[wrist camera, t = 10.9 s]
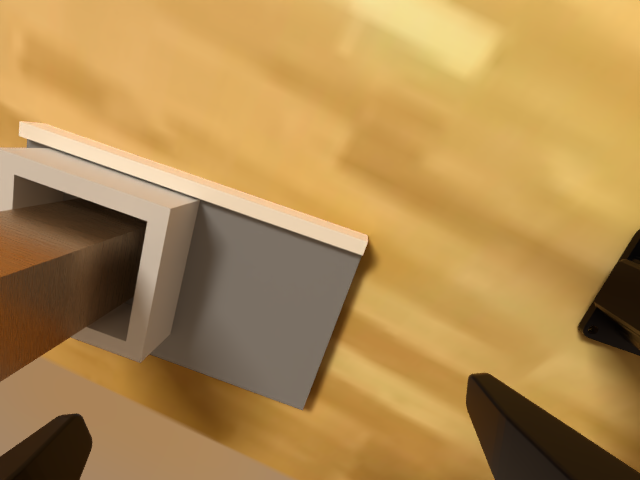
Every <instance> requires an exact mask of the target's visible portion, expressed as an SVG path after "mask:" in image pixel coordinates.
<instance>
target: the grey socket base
mask: <svg viewBox="0 0 640 480" xmlns="http://www.w3.org/2000/svg"><path fill="white" fill-rule="evenodd" d="M19 136H21V137H24V138H27V148H0V211H6V210H12V209H18V208H24V207H30V206H36V205H42V204H48V203H54V202H60V201H66V200H72V199H78V198H82V199H85V200H88V201H91V202H94V203H97V204H99V205H102V206H105V207H108V208H111V209H114V210H116V211H119V212H122V213H125V214H128V215H131V216H133V217H136V218H139V219H142V220H145V221H147V227H146V233H145V238H144V244H143V249H142V255H141V261H140V266H139V272H138V277H137V283H136V289H135V294H134V297H132V298H131V299H129V300H128V301H126V302H125V303H123V304H121V305H120V306H118V307H117V308H115V309H114V310H112V311H110V312H109V313H107V314H106V315H104V316H103V317H101V318H99V319H98V320H96V321H95V322H93V323H92V324H90V325H89V326H87V327H85V328H84V329H82V330H81V331H79V332H78V333H76V334H74V335H73V336H71V338H74V339H77V340H79V341H82V342H85V343H88V344H90V345H93V346H96V347H99V348H101V349H104V350H107V351H109V352H112V353H115V354H118V355H120V356H123V357H126V358H129V359H131V360H134V361H137V362H139V363H141V362H142V361H143V360H144V359H145V358H146V357H147V356H148V355H149V354H150V355H153V356H156V357H158V358H161V359H164V360H167V361H169V362H172V363H175V364H177V365H180V366H183V367H186V368H188V369H191V370H194V371H197V372H199V373H202V374H205V375H208V376H210V377H213V378H216V379H219V380H221V381H224V382H227V383H229V384H232V385H235V386H238V387H240V388H243V389H246V390H249V391H251V392H254V393H257V394H260V395H262V396H265V397H268V398H270V399H273V400H276V401H279V402H281V403H284V404H287V405H290V406H292V407H295V408H298V409H301V410H303V408H304V406H305V403H306V400H307V398H308V395H309V392H310V390H311V387H312V385H313V382H314V379H315V377H316V374H317V371H318V369H319V366H320V364H321V361H322V358H323V356H324V353H325V350H326V348H327V345H328V343H329V340H330V337H331V335H332V332H333V330H334V327H335V324H336V322H337V319H338V316H339V314H340V311H341V309H342V306H343V303H344V301H345V298H346V295H347V293H348V290H349V288H350V285H351V282H352V280H353V277H354V275H355V272H356V269H357V267H358V264H359V261H360V259H361V256H363V254H364V251H365V249H366V246H367V243H368V235H366V234H363V233H360V232H357V231H354V230H351V229H348V228H345V227H342V226H340V225H337V224H334V223H331V222H328V221H325V220H322V219H319V218H317V217H314V216H311V215H308V214H305V213H302V212H299V211H296V210H293V209H291V208H288V207H285V206H282V205H279V204H276V203H273V202H270V201H267V200H265V199H262V198H259V197H256V196H253V195H250V194H247V193H244V192H241V191H239V190H236V189H233V188H230V187H227V186H224V185H221V184H218V183H215V182H213V181H210V180H207V179H204V178H201V177H198V176H195V175H192V174H189V173H187V172H184V171H181V170H178V169H175V168H172V167H169V166H166V165H163V164H161V163H158V162H155V161H152V160H149V159H146V158H143V157H140V156H137V155H135V154H132V153H129V152H126V151H123V150H120V149H117V148H114V147H112V146H109V145H106V144H103V143H100V142H97V141H94V140H91V139H88V138H86V137H83V136H80V135H77V134H74V133H71V132H68V131H65V130H62V129H60V128H57V127H54V126H51V125H48V124H45V123H35V122H24V121H20V125H19Z"/></svg>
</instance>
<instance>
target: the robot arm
mask: <svg viewBox="0 0 640 480" xmlns="http://www.w3.org/2000/svg"><path fill="white" fill-rule="evenodd" d="M591 326H593V328H592V329H591V330H589V331H588V328H590V327H591ZM579 330H580V332H581V333H582V334H584V335H585V336H586V337H588V338H591V339H594V340H596V341H599V342H602V343H605V344H608V345H611V346H614V347H616V348H619V349H622V350H625V351H628V352H631V353H634V354H637V355H639V356H640V229H639V230H638V231H637V232H636V234H635V235H634V237H633V238H632V240H631V242H630V243H629V245H628V247H627V248H626V250H625V251H624V253H623V255H622V256H621V258H620V259H619V261H618V263H617V264H616V266H615V267H614V269H613V271H612V272H611V274H610V275H609V277H608V279H607V280H606V282H605V283H604V285H603V287H602V288H601V290H600V292H599V293H598V295H597V296H596V298H595V300H594V301H593V303H592V304H591V306H590V308H589V309H588V311H587V312H586V314H585V316H584V317H583V319H582V320H581V322H580V324H579ZM466 406H467V410H468V413H469V416H470V418H471V421H472V423H473V426H474V428H475V431H476V433H477V436H478V438H479V441H480V444H481V446H482V449H483V451H484V454H485V456H486V459H487V461H488V464H489V466H490V469H491V471H492V474H493V476H494V479H495V480H640V473H639V472H637V471H636V470H634V469H633V468H631V467H630V466H628V465H627V464H625V463H624V462H622V461H621V460H619V459H617V458H616V457H614V456H613V455H611V454H610V453H608V452H607V451H605V450H604V449H602V448H601V447H599V446H598V445H596V444H595V443H593V442H592V441H590V440H589V439H587V438H586V437H584V436H583V435H581V434H580V433H578V432H577V431H575V430H574V429H572V428H571V427H569V426H568V425H566V424H565V423H563V422H562V421H560V420H559V419H557V418H556V417H554V416H552V415H551V414H549V413H548V412H546V411H545V410H543V409H542V408H540V407H539V406H537V405H536V404H534V403H533V402H531V401H530V400H528V399H527V398H525V397H524V396H522V395H521V394H519V393H518V392H516V391H515V390H513V389H512V388H510V387H509V386H507V385H506V384H504V383H503V382H501V381H500V380H498V379H497V378H495V377H494V376H492V375H490V374H488V373H477V374H471V375H470V376H469V377H468V384H467V395H466ZM91 448H92V437H91V435H90V433H89V430H88V428H87V426H86V424H85V422H84V419H83V417H82V416H81V415H80V414H68V415H61V416H58V417H56V418H55V419H53V420H52V421H51V422H49V423H48V424H46V425H45V426H43V427H42V428H40V429H39V430H38V431H36V432H35V433H33V434H32V435H30V436H29V437H28V438H26V439H25V440H23V441H22V442H21V443H19V444H18V445H16V446H15V447H13V448H12V449H11V450H9V451H8V452H6V453H5V454H3V455H2V456H1V457H0V480H80V477H81V474H82V472H83V469H84V467H85V464H86V461H87V459H88V457H89V454H90V451H91Z"/></svg>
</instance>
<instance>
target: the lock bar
mask: <svg viewBox="0 0 640 480" xmlns="http://www.w3.org/2000/svg"><path fill="white" fill-rule="evenodd" d="M146 227H147V221H145V220H142V219H139V218H136V217H133V216H131V215H128V214H125V213H122V212H119V211H116V210H114V209H111V208H108V207H105V206H102V205H99V204H97V203H94V202H91V201H88V200H85V199H82V198H78V199H72V200H66V201H60V202H54V203H48V204H42V205H36V206H30V207H24V208H18V209H12V210H6V211H0V381H2V380H4V379H5V378H7V377H8V376H10V375H12V374H13V373H15V372H16V371H18V370H20V369H21V368H23V367H24V366H26V365H27V364H29V363H30V362H32V361H34V360H35V359H37V358H38V357H40V356H41V355H43V354H45V353H46V352H48V351H49V350H51V349H52V348H54V347H56V346H57V345H59V344H60V343H62V342H63V341H65V340H67V339H68V338H70V337H71V336H73V335H74V334H76V333H78V332H79V331H81V330H82V329H84V328H85V327H87V326H89V325H90V324H92V323H93V322H95V321H96V320H98V319H99V318H101V317H103V316H104V315H106V314H107V313H109V312H110V311H112V310H114V309H115V308H117V307H118V306H120V305H121V304H123V303H125V302H126V301H128V300H129V299H131V298H132V297H134V294H135V289H136V283H137V277H138V272H139V266H140V261H141V255H142V249H143V244H144V238H145V233H146Z"/></svg>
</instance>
